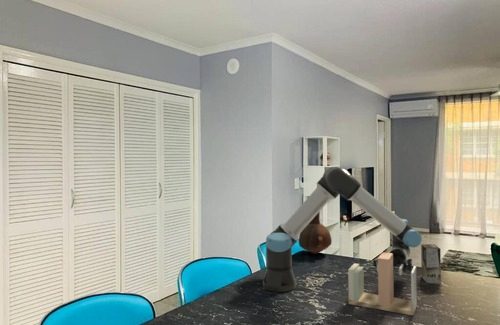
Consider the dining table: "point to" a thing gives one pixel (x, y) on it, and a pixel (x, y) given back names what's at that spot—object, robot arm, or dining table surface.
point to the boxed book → (385, 279)
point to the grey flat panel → (413, 288)
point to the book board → (396, 306)
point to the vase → (315, 236)
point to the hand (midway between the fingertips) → (388, 270)
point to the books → (355, 282)
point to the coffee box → (431, 263)
